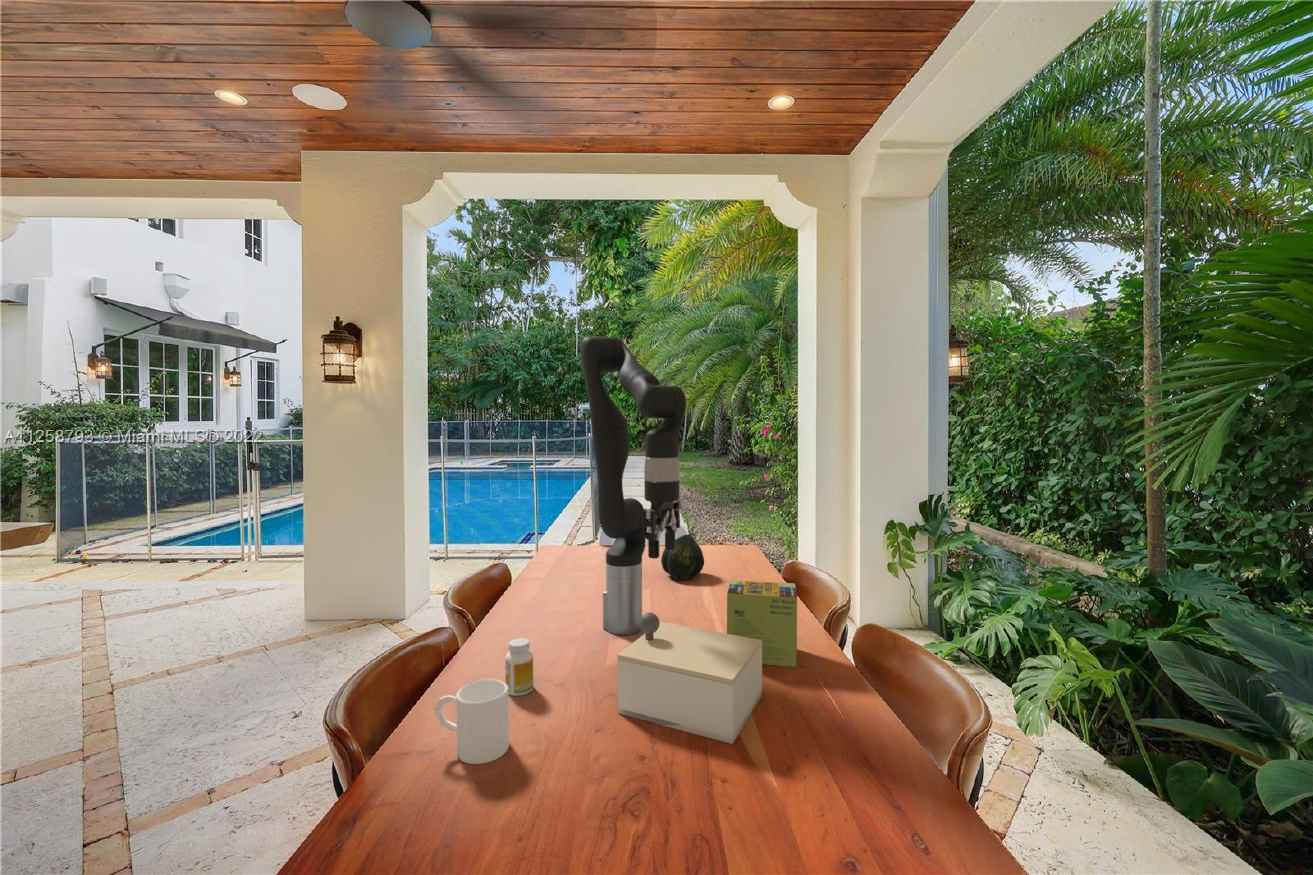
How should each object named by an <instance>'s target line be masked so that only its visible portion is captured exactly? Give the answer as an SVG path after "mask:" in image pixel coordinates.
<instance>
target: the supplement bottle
mask: <svg viewBox="0 0 1313 875" xmlns="http://www.w3.org/2000/svg"><path fill="white" fill-rule="evenodd" d="M504 660H505V661H504V663H505V665H504V666H505V667H504V669H505V670H504V671H505V676H504V677H505V683H506V684H507V685H508V692H509V696H512V697H513V696H516V697H519V696H525V695H527V694H529V693H531V692H532V691H533V689H534V655H533V652H532V650H531V649H530V640H529V639H527V638H522V637H519V638H514V639H512V640H510V641H509V642H508V652H507V653H506V654H505V658H504Z"/></svg>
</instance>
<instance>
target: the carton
mask: <svg viewBox="0 0 1313 875" xmlns="http://www.w3.org/2000/svg"><path fill="white" fill-rule="evenodd" d="M616 667H617V669H616V670H617V672H616V673H617V674H616V675H617V714H620V715H624V716H627V717H630V718H634V719H638V720H643V721H646V722H649V723H654V724H657V725H660V726H663V727H667V728H670V729H674V730H675V729H676V730H678V731H682V732H686V733H690V734H694V735H698V736H701V737H705V738H708V739H712V740H716V741H719V742H723V743H726V744H730V745H733V744H734V743H735V741H736V739H737V737H738V735H739V734H740V732H741V731H742V729H743V728H744V726H745V724H746V722H747V721H748V719H749V718H750V715H752V713H753V711H754V709H755V707H756V706H757V704H758V703H759V701H760V699H761V697H762V696H763V664H762V645H761V646H760V648H759V649H758V650H757V652H756V653H755V654H754V656H753V657H752V659H751V660H750V661H749V663H748V664H747V665H746V667H745V668H744V670H743V671H742V672H741V674H740V675H739V676H738V678H737V679H736V681H735V682H734V683H733V684H728V683H724V682H719V681H715V680H710V679H706V678H701V677H697V676H692V675H688V674H683V673H679V672H674V671H669V670H665V669H660V668H656V667H651V666H647V665H642V664H638V663H633V662H629V661H624V660H620V659H617V666H616Z"/></svg>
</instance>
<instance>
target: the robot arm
mask: <svg viewBox="0 0 1313 875" xmlns="http://www.w3.org/2000/svg"><path fill="white" fill-rule="evenodd" d="M579 349H580V353H579V354H580V355H579V356H580V361H581V362H580V364H581V368H582V374H583V378H584V383H585V387H586V388H585V389H586V392H587V393H586V394H587V400H588V405H589V406H588V408H589V416H590V425H591V436H592V444H593V448H594V449H593V450H594V456H595V458H594V459H595V468H596V475H597V476H596V478H597V492H598V493H597V494H598V495H597V496H598V519H599V520H598V521H599V525H600V527H601V529H602V532H603V533H604V534H605V535H606V537H608V538H610V539H614V542H613V543H612V545H611V546H610V547H609V548H608V549H607V551H606V553H605V590H604V591H602V592H603V593H602V629H603V630H606V631H607V632H609V633H611V634H615V635H621V636H622V635H631V634H636V633H639V632H641V631H642V630H641V629H640V626H639V621H640V618H641V616H642V615H643V555H644V552H645V550H646V549H645V548H646V540H647V541H648V543H647V544H648V548H647V550H648V552H647V553H648V557H649V559H658V558H660V536H661V533H662V532H664V549H667V550H674V549H675V540H676V533H677V530H678V529H680V527H681V516H680V514H681V512H680V509H681V508H680V502H679V500H680V498H681V497H680V464H679V463H680V462H679V436H680V432H681V430H682V424H683V420H684V417H685V413H686V409H687V397H686V395H685V392H684V390H683V389H682V388H681V387H679V386H677V385H663V384H661V382H660V380H659V379H658V378H657V376H655V375H654V374H653V373H652V372H651V371H649V370H648V369H647V368H645V366H642V364H641V363H640V362H639V361H638V360H637V358H636V357H635V356H634V354H633V353H632V352H631V351H630V349H629V348H628V346H627V345H626V344H625V343H624V341H623V340H621V339H620V338H618V337H616V336H586V337H584V338H583V339H582V340H581V343H580V348H579ZM615 372H618V373H619V374H618V379H619V384H620V386H621V388H622V389H623V390H624V391H625V392H626V394H627V395H629V396H630V397H631V398H632V399H633V401H634V404H635V406H636V409H637V411H638V413H639V414H640V415H641V416H643V417H645V418H648V419H663V421H662V423H661V426H660V427H658V428H656V429H655V428H654V429H652V430H649V431H647V432H646V433H645V434H646V435H645V461H644V463H645V464H644V472H643V473H644V500H645V501H646V502H650V508H646V509H645V507H644V506H643V504H642V503H641V501H639V500H638V499H636V498H633V497H627V498H624V492H623V491H624V489H623V478H624V472H625V468H626V466H627V465H626V464H627V462H628V460H629V458H628V457H629V454H630V449H631V448H630V434H629V428H628V422H627V419H626V417H625V415H624V414H623V412H622V410H620V408H619V406H618V405H616V403H615V402H614V400H612V398H611V397H610V395H609V394H608V391H607V390H606V388H605V385H604V383H603V379H602V375H601V374H605V373H606V374H607V373H610V374H611V373H615Z"/></svg>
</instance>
